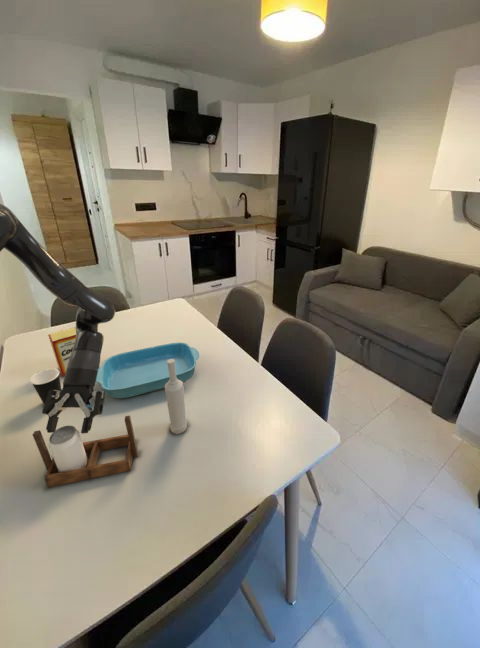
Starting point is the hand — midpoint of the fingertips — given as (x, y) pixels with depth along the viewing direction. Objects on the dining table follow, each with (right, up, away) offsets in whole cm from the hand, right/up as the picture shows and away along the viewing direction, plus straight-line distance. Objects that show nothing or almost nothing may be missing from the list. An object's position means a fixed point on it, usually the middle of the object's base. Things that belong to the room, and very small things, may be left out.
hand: (67, 432), depth 74 cm
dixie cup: (-21, -1, +24) cm, 32 cm away
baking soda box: (-25, +7, +41) cm, 49 cm away
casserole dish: (+7, +4, +37) cm, 38 cm away
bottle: (+24, -6, +16) cm, 29 cm away
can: (0, -11, +3) cm, 11 cm away
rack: (+5, -10, +4) cm, 12 cm away
